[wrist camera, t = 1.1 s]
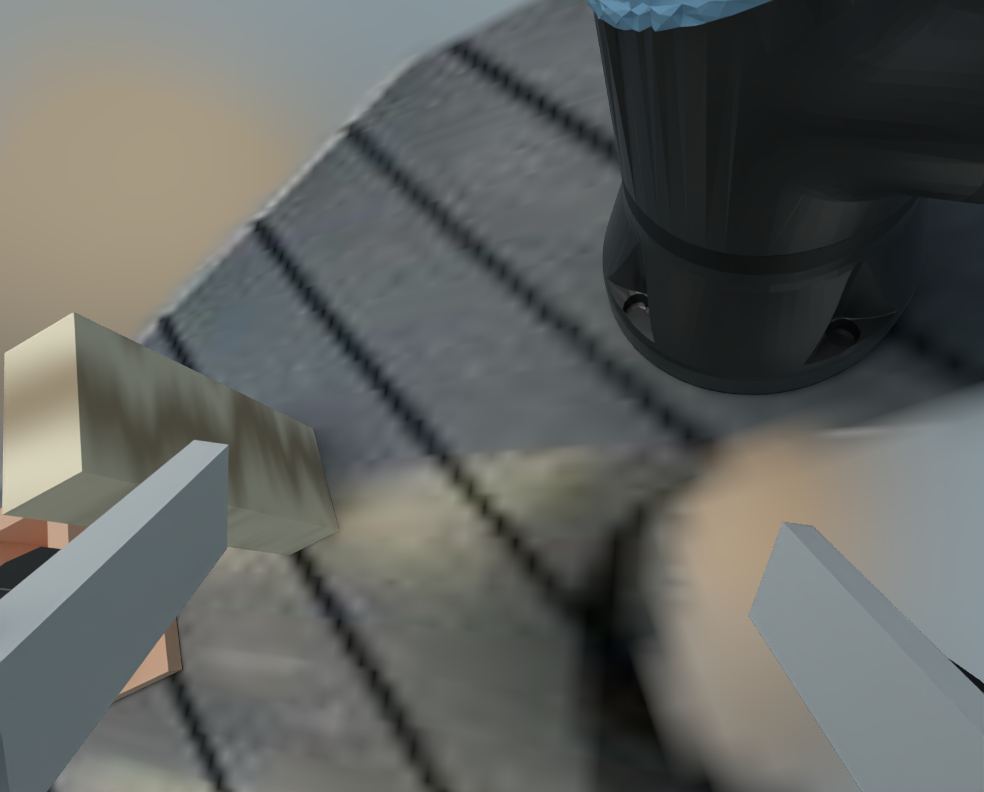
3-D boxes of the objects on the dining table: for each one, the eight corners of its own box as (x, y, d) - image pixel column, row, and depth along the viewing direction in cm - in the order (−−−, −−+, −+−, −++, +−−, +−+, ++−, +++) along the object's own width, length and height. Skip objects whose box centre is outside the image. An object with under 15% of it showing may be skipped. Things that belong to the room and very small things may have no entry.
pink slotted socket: (23, 531, 42) (-58, 521, 37) (157, 459, 40) (90, 440, 35) (23, 744, 36) (-73, 762, 31) (182, 669, 34) (105, 678, 29)
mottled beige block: (267, 452, 37) (4, 353, 23) (313, 428, 37) (73, 312, 23) (289, 555, 34) (2, 514, 20) (339, 530, 34) (82, 471, 20)
